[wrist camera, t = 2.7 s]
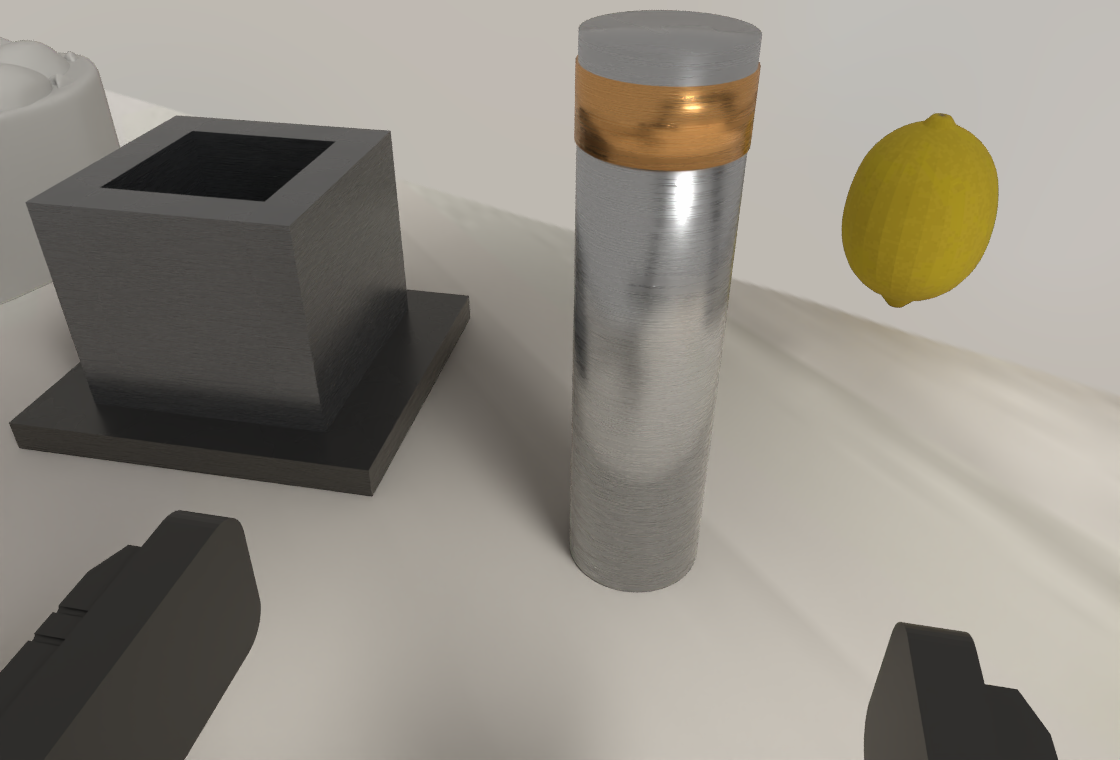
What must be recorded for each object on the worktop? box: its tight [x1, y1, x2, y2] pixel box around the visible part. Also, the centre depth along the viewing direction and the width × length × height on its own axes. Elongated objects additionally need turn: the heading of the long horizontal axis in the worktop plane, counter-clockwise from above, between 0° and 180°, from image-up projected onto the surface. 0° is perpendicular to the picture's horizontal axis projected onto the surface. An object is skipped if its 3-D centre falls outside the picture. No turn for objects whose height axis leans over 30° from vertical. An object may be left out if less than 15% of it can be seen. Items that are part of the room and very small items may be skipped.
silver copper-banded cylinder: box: [570, 10, 762, 592], centre depth 22 cm, size 4×4×14 cm
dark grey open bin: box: [9, 116, 470, 496], centre depth 30 cm, size 12×11×8 cm
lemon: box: [842, 113, 998, 308], centre depth 35 cm, size 6×6×8 cm
